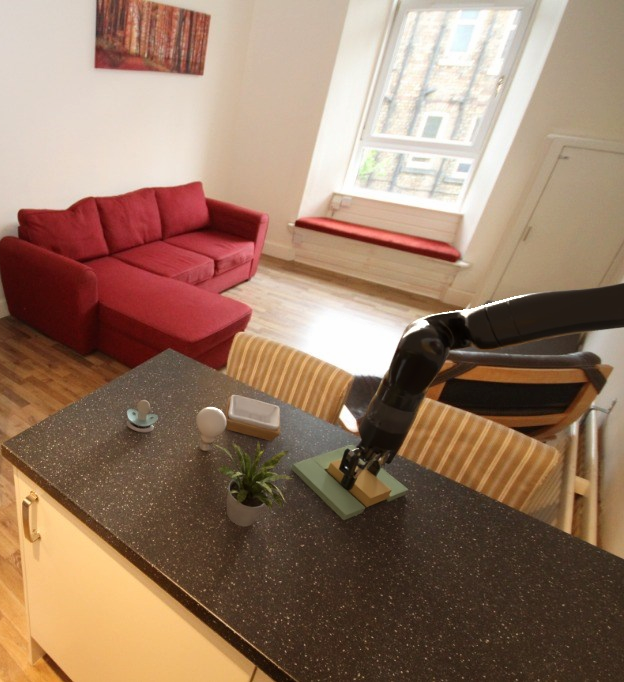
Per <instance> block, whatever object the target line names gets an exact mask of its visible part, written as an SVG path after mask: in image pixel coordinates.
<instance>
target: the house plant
mask: <svg viewBox="0 0 624 682" xmlns="http://www.w3.org/2000/svg"><path fill="white" fill-rule="evenodd" d="M211 444H212V446H216V447H217V448H219V449H220V450H223V451H224V452H225V453H226V454H227V455H228V456H229V457H230V458H231V460H232V462H233V463H234V465H235V467H236V469H237V470H238V471H237V472H235V471H234V470H232V468H230V467H229V466H227V465H222V466H221V467H218V470H219V472H220V473H221V474H223V475H224V476H227V477H229V478H231V479H232V480H230V481H229V483H228V485H227V497H226V516H227V517H228V519H229V521H230V522H231V523H233V524H234V523H235V524H234V525H236V526H238V527H243V528H244V527H245V528H246V527H247V528H248V527H250V526H251V525H253V524H254V522H255V521H256V519H257V518H258V516H259V515H260V513H261V512H262V510H263V509H264V507H265V506H267V507H268V508H269V509H270V511H271V512H273V507H274V504H273V500H274V501H275V502H276V504H277V505H279V507H280V509H281V510H282V508H283V501H284V502H285V504H287V501H286V499H285V498H284V497H285V496H284V494H283V492H282V491H281V490H280V488H279V487H278V486H276V485H275V484H273V483H272V482H273V481H278V480H284V479H285V480H294V478H293V477H291V476H289V475H286V474H278V473H277V472H275V471H273V470H272V469H274V468H277V466H278V465H279V463H280V461H281V460H282V458H283V457H285V456H286V455H288V453H289V452H290V450H284V451H281V452H279V453H276V454H274V455H273V456H272V457H270V458H269V459H268V460H266V461H265V462H264V463H262V464H261V466H260V468H259V469H258V466H259V463H260V460H261V456H262V455H263V453H264V452H265V450H266V448H264V449H262V450H261V444H260V441H259V440H258V441H257V443H256V449H255V451H254V457H253V461H251V456H250V454H248V453H247V452H245V451H244V449H243V448H242V447H241V446H240V445H239V444H235V443H233V442H231V444H232V446H233V447H234V450H235V454H236V456H237V458H238V461H239V464H240V468H239V466H238V465H237V463H236V460H235V459H234V457H233V455H232V454H231V452H230V451H229V450H228V449H227V448H225V447H224V446H221V445H219V444H216V443H211ZM251 462H252V464H251ZM240 469H241V470H240ZM272 489H275V490H277V491H278V493H279V494H280V496H279V495H278V494H277V493H276V492H274V491H273V490H272ZM268 495H269V496H270V497H271V498H272V499H273V500H272V499H271V498H270V497H268ZM281 498H282V499H283V501H282V499H281Z"/></svg>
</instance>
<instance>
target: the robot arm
mask: <svg viewBox="0 0 624 682" xmlns="http://www.w3.org/2000/svg"><path fill="white" fill-rule="evenodd" d="M623 328H624V282H620V283H616V284H615V283H614V284H610V285H604V286H597V287H588V288H587V287H586V288H577V289H576V288H575V289H562V290H547V291H538V292H533V293H527V294H522V295H518V296H514V297H510V298H509V297H508V298H506V299H503V300H499V301H495V302H492V303H488V304H485V305H481V306H478V307H475V308H471V309H463V310H455V311H449V312H448V311H447V312H441V313H435V314H430V315H427V316H424V317H420V318H418V319H415V320H413V321H411V322H410V323H409V324H408V325H407V326H406V327H405V328H404V330H403V333H402V335H401V337H400V339H399V341H398V343H397V346H396V348H395V351H394V354H393V355H392V359H391V361H390V364H389V366H388V369H387V370H386V372H385V373H384V375H383V377H382V378H381V380H380V382H379V385H378V388H377V390H376V392H375V394H374V395H373V397H372V398H371V400H370V402H369V404H368V406H367V408H366V411H365V413H364V415H363V416H362V419H361V421H360V424H359V426H358V434H359V436H360V440H359V442H358V444H357V445H356V446H355V447H356V449H355V450H353V451H352V450H351V449H349V448H347V449H346V450H345V451H344V454H343V457H342V461H341V464H340V467H339V470H340V471H341V472H342V473H343V474H344V476H343V478H342V480H341V484H342V485H341V484H340V485H341V486H342V487H344V488H345V489H346V490H347V491H348V490H351V489H352V488H353V486H354V484H355V482H356V480H357V478H358V476H359V475H360V473H361V472H362V471H363V470H368V471H369V472H370V473H372V474H373V475H374V476H375V477H376V476H377V474H378V472H379V471H380V469H384V468H385V466H386V465H390V464H391V463H392V462H393V460H394V459H395V457H396V455H397V454H398V452H399V451H400V449H401V448H402V446H403V444H404V441H405V440H406V438H407V436H408V434H409V433H410V430H411V429H412V427H413V424H414V422H415V421H416V418H417V415H418V413H419V410H420V408H421V406H422V403H423V402H424V400H425V398H426V396H427V394H428V392H429V389H430V385H432V383H433V382H434V380H435V379H436V378H437V376H438V375H439V373H440V371H441V370H442V368H443V367H444V365H445V363H446V361H447V359H448V357H449V355H450V352H451V351H456V350H461V349H469V348H474V349H476V350H478V351H482V352H490V351H495V350H501V349H506V348H510V347H516V346H520V345H524V344H531V343H534V342H539V341H542V340H549V339H554V338H558V337H564V336H565V337H566V336H570V335H571V336H572V335H577V334H583V333H590V332H598V331H605V330H614V329H623ZM359 458H360V459H361V460H362V461H363V462H365V464H364V465H363V464H362V463H361V462H360V460H359ZM357 466H358V469H357V470H356V471H355V469H356V467H357Z"/></svg>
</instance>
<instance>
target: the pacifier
mask: <svg viewBox="0 0 624 682" xmlns="http://www.w3.org/2000/svg"><path fill="white" fill-rule="evenodd" d="M136 408H137V410H136V409H133V408H129V409H128V410H127V411H126V416H127V419H128V420H127V421H126V426H127V427H128V428H129V429H131V430H133V431H134V432H135V431H136V432H139V433H150V432H153V431H154V424H155V423H157V422H158V419H159V415H157V414H155V413H151V414H150V413H149V412H150V411H151V410H150V409H151V404H150V402H149V401H147V400H146V399H141V400H139V402H137V404H136ZM148 413H149V414H148ZM134 425H136V426H138V427H136V426H134ZM140 427H141V428H140ZM147 427H148V428H147Z"/></svg>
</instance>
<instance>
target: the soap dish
mask: <svg viewBox="0 0 624 682" xmlns="http://www.w3.org/2000/svg"><path fill="white" fill-rule="evenodd" d="M224 415H225V417H226V428H225V429H226V430H227V431H231V432H235V433H239V434H243V435H246V436H249V437H254V438H257V439H261V440H266V441H267V442H269V441H270V442H272V441H273V440H274V439H276V438H277V437H279V436H280V435H281V409H280V406H278V405H275V404H272V403H269V402H265V401H261V400H258V399H254V398H251V397H245V396H242V395H237V394H232V395H230V396H228V398H227V403H226V408H225V413H224Z"/></svg>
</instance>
